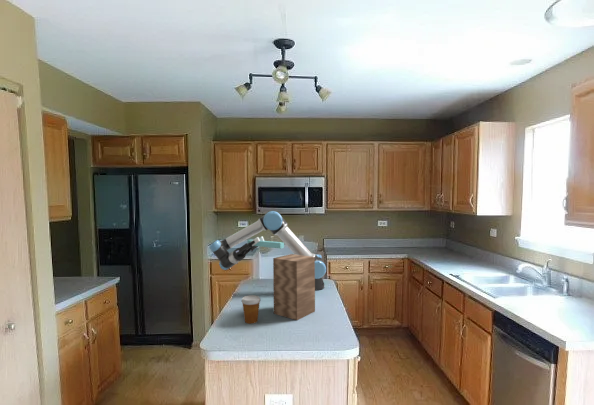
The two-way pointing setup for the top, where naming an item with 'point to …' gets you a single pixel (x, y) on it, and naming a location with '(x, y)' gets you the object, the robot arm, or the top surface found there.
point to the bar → (269, 244)
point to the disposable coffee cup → (251, 308)
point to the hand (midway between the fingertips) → (260, 238)
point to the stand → (294, 286)
